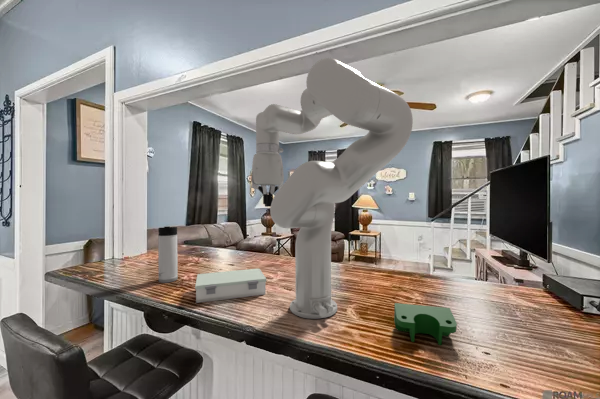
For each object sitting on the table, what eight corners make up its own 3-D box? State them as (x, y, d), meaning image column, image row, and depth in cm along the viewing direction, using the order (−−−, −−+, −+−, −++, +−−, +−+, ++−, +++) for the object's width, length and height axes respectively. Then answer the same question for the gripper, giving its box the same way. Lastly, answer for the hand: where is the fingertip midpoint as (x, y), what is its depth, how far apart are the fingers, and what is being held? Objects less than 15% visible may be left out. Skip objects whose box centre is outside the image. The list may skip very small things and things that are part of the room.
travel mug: (157, 284, 91) (156, 227, 91) (159, 278, 97) (159, 225, 97) (176, 282, 93) (176, 226, 93) (178, 276, 99) (177, 224, 99)
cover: (267, 282, 79) (267, 279, 79) (195, 290, 72) (194, 287, 72) (259, 270, 92) (259, 268, 92) (197, 276, 85) (197, 273, 85)
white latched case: (266, 295, 79) (266, 282, 79) (195, 303, 73) (195, 290, 73) (259, 282, 91) (258, 271, 91) (198, 289, 85) (198, 277, 85)
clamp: (406, 359, 54) (388, 323, 53) (402, 337, 60) (386, 304, 59) (467, 347, 50) (450, 308, 49) (457, 326, 56) (441, 290, 55)
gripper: (286, 154, 91) (286, 206, 91) (243, 151, 87) (243, 206, 87) (292, 150, 84) (292, 206, 84) (246, 147, 80) (246, 207, 80)
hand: (268, 206), depth 85 cm, fingers closed
